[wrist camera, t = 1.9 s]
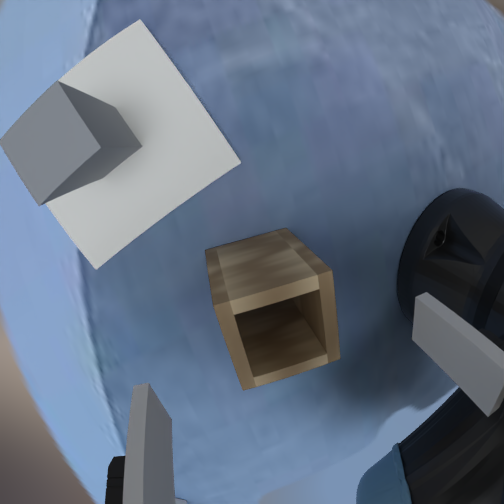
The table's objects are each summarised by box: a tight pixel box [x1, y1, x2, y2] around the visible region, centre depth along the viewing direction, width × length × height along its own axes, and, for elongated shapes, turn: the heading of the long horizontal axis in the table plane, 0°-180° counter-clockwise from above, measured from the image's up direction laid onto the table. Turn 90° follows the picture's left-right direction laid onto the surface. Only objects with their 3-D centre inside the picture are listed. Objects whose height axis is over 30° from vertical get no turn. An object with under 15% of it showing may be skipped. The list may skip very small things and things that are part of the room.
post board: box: [0, 20, 241, 270], centre depth 13 cm, size 12×12×10 cm
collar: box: [205, 228, 340, 391], centre depth 19 cm, size 6×6×8 cm
